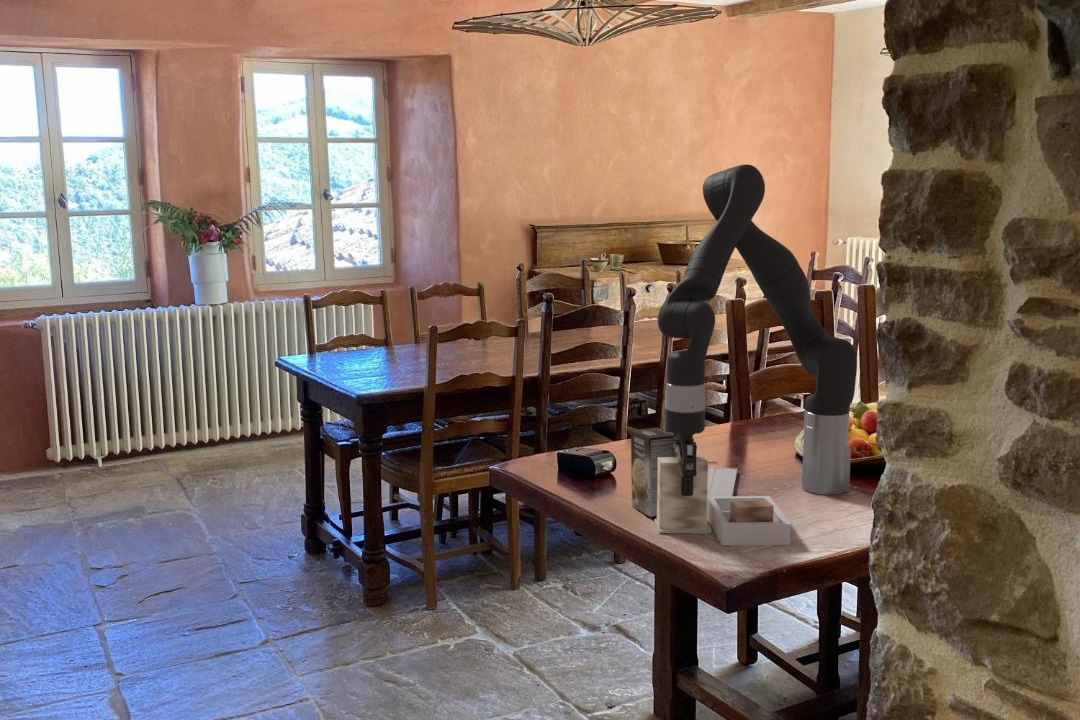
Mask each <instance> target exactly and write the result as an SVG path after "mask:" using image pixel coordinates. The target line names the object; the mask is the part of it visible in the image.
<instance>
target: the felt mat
mask: <svg viewBox="0 0 1080 720" xmlns="http://www.w3.org/2000/svg"><path fill="white" fill-rule="evenodd" d="M655 523H656V524H655ZM654 524H655V527H656V526H657V527H656V529H658V530H657V531H658V534H659V533H667V532H668V533H691V534H713V533H712V532H713V531H712V527H711V526H710V524H709V523H708V521H707V528H699V529H659V527H658V524H657V518H654Z"/></svg>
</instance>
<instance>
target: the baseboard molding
mask: <svg viewBox="0 0 1080 720" xmlns="http://www.w3.org/2000/svg"><path fill="white" fill-rule="evenodd" d="M707 462H708V464H714V466H715V465H717V466H720V464H718V463H719V462H716V461H707ZM730 466H733V467H736V468H729V467H728V468H727V467H709V466H708V484H707V497H725V496H734V490H735V485H736V479H737V473H738V468H737V467H738V465H737V464H734V465H733V464H731V465H730Z"/></svg>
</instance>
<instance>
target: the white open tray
mask: <svg viewBox="0 0 1080 720" xmlns="http://www.w3.org/2000/svg"><path fill="white" fill-rule="evenodd" d="M754 500H767V501H768V502H769V503H771V504H772V505H773V506H774V510H773V522H735V523H729V519H730V502H735V501H754ZM707 519H708V521H709V523H710V525H711V528H712V529H713V530H714V533H715V534H716V536H717V539H718V540H719V542H720V544H721V546H723V545H724V546H726V545H727V546H733V547H734V546H735V547H736V546H790V545H791V544H790V543H791V523H790V521H789V520H788V519H787V517H786V516H785V515H784V514H783V512H782V511H781V510H780V508H779V507H778V506H777V504H776V503H775V502H774V500H773V499H772V498H771V495H761V496H759V495H757V496H756V495H755V496H753V495H752V496H751V495H748V496H747V495H745V496H744V495H743V496H737V495H735V496H734V495H733V496H725V497H707Z"/></svg>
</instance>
